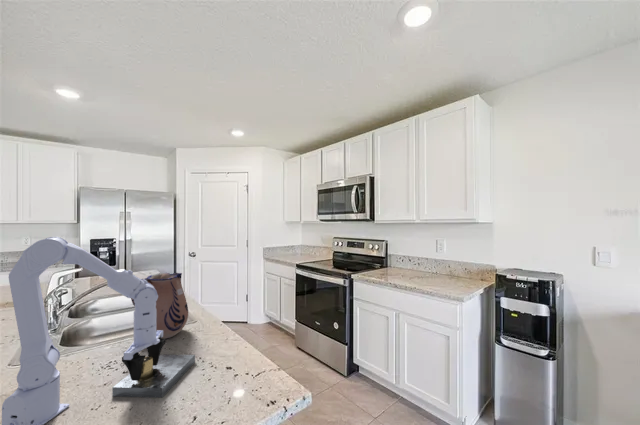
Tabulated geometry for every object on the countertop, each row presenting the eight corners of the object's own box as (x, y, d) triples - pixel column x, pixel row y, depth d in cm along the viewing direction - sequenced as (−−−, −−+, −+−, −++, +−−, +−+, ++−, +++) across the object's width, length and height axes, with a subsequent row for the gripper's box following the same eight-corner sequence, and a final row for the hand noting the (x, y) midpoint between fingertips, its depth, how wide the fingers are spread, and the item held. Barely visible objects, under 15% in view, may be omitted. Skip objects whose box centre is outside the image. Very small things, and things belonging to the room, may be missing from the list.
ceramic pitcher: (197, 331, 117) (197, 273, 117) (144, 353, 99) (145, 283, 99) (173, 323, 126) (173, 269, 126) (121, 342, 108) (121, 278, 108)
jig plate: (162, 397, 74) (162, 388, 75) (112, 396, 75) (112, 387, 75) (194, 362, 92) (195, 354, 93) (154, 361, 93) (154, 354, 93)
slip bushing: (146, 388, 79) (146, 363, 79) (133, 387, 79) (133, 362, 79) (155, 379, 83) (155, 356, 83) (143, 379, 83) (143, 355, 83)
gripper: (141, 336, 74) (141, 387, 73) (172, 316, 88) (172, 359, 88) (116, 336, 74) (115, 386, 74) (151, 316, 88) (151, 358, 88)
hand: (145, 371), depth 81 cm, fingers open, 7 cm apart
